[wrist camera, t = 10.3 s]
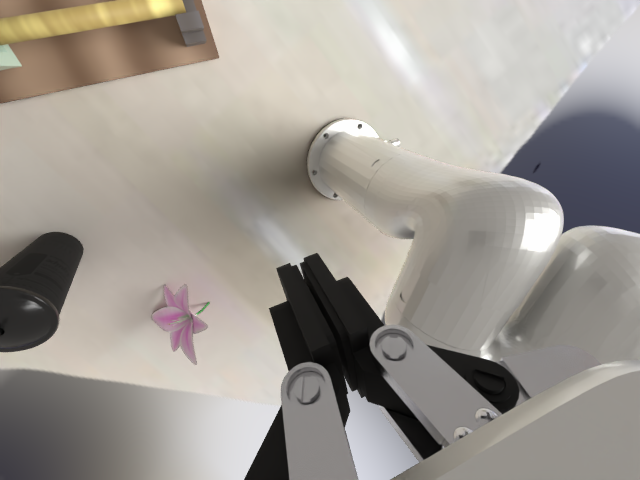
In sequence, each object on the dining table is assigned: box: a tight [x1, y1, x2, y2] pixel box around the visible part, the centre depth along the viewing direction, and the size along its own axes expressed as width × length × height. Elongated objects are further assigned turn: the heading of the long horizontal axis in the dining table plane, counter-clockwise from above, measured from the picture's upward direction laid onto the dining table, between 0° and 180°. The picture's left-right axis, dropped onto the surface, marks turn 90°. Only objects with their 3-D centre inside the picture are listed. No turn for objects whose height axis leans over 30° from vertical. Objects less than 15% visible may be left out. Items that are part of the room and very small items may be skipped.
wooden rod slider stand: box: [0, 0, 219, 103], centre depth 25 cm, size 26×9×8 cm, turn 101°
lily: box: [152, 284, 210, 365], centre depth 45 cm, size 12×12×10 cm
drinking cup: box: [0, 232, 83, 352], centre depth 29 cm, size 8×8×20 cm
